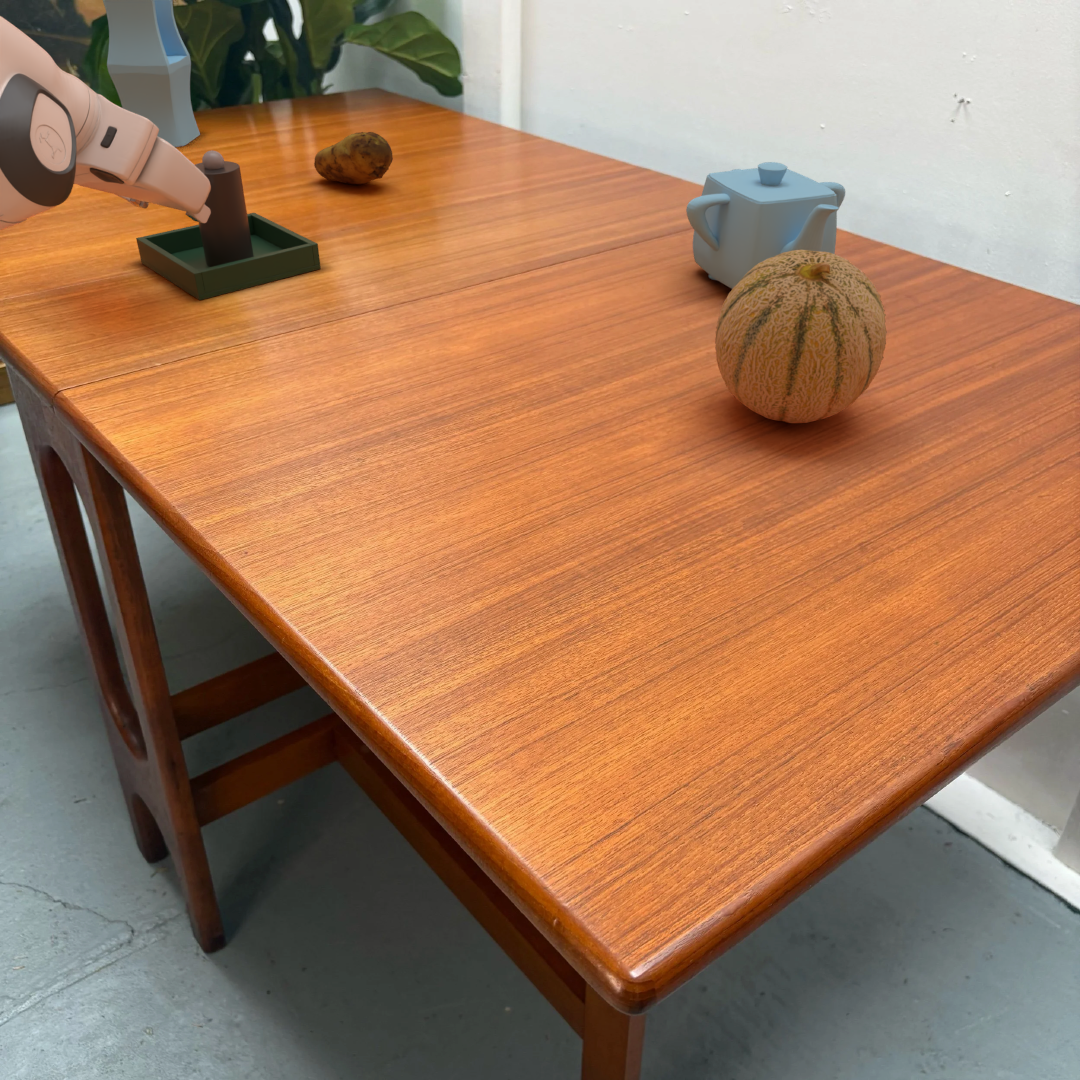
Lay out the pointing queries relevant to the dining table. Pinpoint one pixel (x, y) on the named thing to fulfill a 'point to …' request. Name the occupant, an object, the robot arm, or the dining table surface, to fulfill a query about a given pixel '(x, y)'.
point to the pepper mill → (224, 212)
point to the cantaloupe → (801, 336)
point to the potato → (355, 159)
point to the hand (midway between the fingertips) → (174, 209)
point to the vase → (151, 66)
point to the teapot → (760, 218)
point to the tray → (273, 260)
